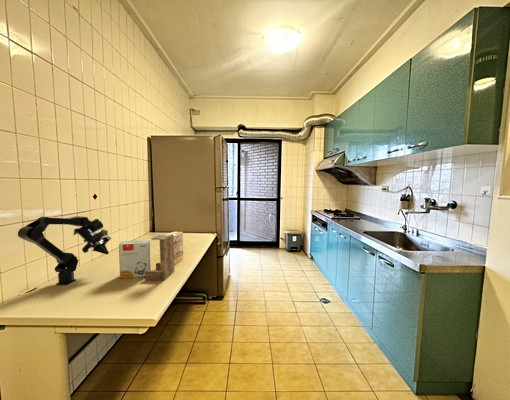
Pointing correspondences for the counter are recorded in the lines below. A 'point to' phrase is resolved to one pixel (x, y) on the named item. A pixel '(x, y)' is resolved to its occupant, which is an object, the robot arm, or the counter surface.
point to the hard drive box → (134, 258)
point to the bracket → (163, 259)
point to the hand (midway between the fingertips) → (108, 253)
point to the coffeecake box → (177, 246)
